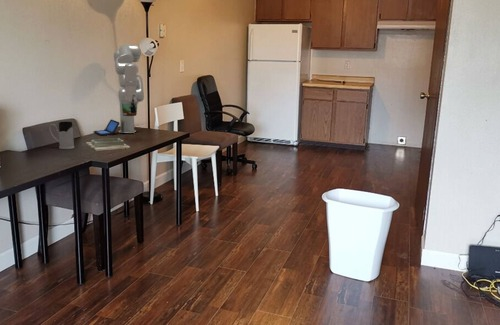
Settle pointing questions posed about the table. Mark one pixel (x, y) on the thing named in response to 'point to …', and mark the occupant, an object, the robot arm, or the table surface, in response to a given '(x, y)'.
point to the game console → (108, 129)
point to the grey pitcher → (65, 135)
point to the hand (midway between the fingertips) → (131, 111)
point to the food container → (128, 108)
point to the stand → (107, 144)
